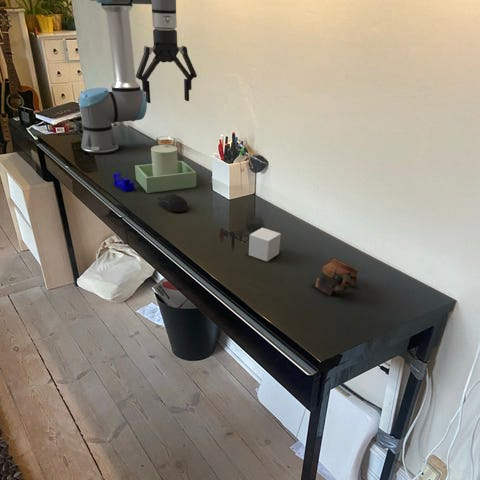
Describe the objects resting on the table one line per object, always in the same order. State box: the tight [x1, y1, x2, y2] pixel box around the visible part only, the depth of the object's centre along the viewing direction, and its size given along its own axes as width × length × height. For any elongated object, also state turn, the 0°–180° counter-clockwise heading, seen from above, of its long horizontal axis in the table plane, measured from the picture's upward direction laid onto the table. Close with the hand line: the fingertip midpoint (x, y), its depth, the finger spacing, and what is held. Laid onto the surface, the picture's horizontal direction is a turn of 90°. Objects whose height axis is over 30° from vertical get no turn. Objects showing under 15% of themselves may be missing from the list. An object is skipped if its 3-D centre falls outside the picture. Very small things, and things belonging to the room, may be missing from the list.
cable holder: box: [112, 172, 135, 193], centre depth 170 cm, size 8×4×4 cm, turn 39°
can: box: [150, 144, 178, 176], centre depth 172 cm, size 9×9×12 cm
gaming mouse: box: [159, 193, 189, 213], centre depth 158 cm, size 6×15×4 cm, turn 36°
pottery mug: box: [315, 257, 359, 296], centre depth 117 cm, size 12×10×8 cm
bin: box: [134, 160, 197, 194], centre depth 174 cm, size 14×18×5 cm
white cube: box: [248, 227, 282, 262], centre depth 131 cm, size 6×6×6 cm
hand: (167, 101), depth 165 cm, fingers open, 13 cm apart
